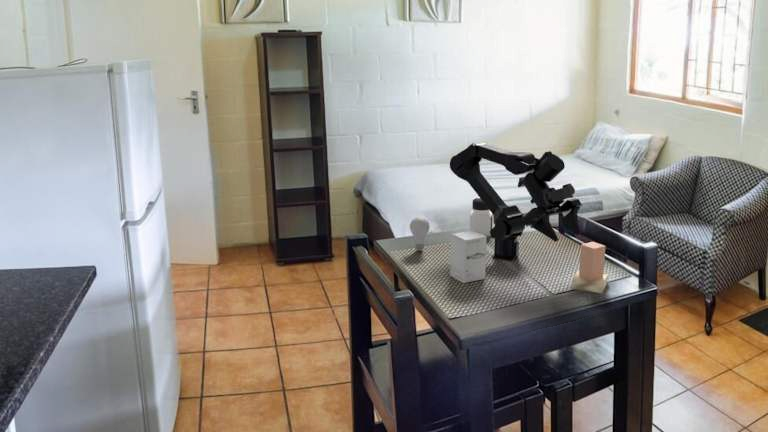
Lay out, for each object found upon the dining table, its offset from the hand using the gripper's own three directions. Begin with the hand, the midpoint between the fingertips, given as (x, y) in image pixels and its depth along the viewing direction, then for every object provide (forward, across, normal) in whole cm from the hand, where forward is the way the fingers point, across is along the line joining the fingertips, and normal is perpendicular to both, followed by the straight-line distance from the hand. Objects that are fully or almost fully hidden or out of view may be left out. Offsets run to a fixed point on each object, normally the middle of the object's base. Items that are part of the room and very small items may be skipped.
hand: (568, 237), depth 194 cm
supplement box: (-3, -22, +20) cm, 30 cm away
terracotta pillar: (+12, 0, +1) cm, 12 cm away
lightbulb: (-22, -17, +39) cm, 48 cm away
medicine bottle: (-24, +11, +41) cm, 48 cm away
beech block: (+14, 0, +3) cm, 15 cm away
